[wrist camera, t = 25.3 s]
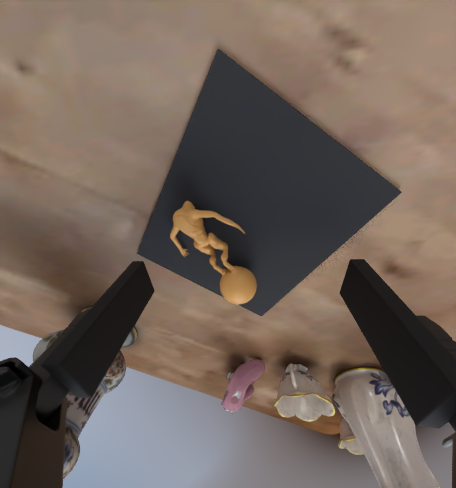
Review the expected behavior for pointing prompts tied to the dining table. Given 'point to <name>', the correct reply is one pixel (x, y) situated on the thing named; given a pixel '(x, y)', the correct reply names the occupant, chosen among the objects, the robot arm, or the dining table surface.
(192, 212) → the figurine
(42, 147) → the dining table surface
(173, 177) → the mat
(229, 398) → the video game controller
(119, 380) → the apothecary jar
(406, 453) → the chinaware
